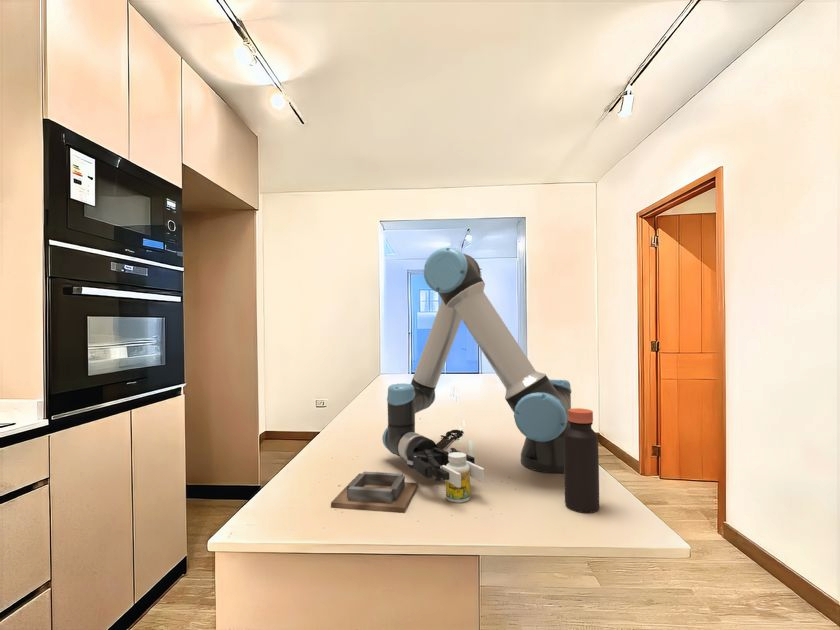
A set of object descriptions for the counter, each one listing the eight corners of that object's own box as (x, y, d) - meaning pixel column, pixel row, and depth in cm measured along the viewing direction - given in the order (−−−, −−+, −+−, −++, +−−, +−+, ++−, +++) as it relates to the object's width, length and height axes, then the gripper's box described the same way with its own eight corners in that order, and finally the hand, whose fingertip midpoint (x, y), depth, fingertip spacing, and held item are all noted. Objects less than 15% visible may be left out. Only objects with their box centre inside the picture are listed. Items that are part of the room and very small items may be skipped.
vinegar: (578, 515, 87) (576, 414, 88) (558, 502, 94) (556, 408, 94) (606, 510, 89) (604, 412, 89) (585, 498, 96) (583, 406, 96)
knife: (440, 455, 130) (440, 450, 130) (420, 452, 132) (420, 447, 132) (468, 434, 152) (468, 430, 152) (451, 432, 155) (451, 428, 155)
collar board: (418, 487, 103) (417, 472, 103) (404, 512, 90) (404, 495, 90) (353, 483, 106) (353, 468, 106) (331, 507, 93) (330, 490, 93)
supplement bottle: (470, 493, 99) (469, 451, 99) (470, 503, 93) (470, 458, 94) (446, 493, 99) (445, 450, 100) (445, 503, 94) (444, 458, 94)
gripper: (448, 459, 117) (506, 487, 96) (386, 471, 108) (434, 505, 87) (448, 431, 117) (505, 453, 96) (385, 440, 108) (433, 467, 88)
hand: (471, 478), depth 92 cm, fingers closed on supplement bottle, 5 cm apart
